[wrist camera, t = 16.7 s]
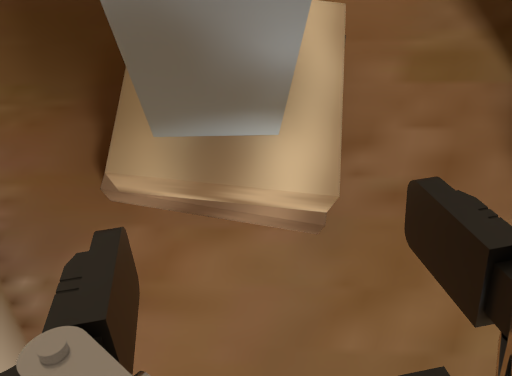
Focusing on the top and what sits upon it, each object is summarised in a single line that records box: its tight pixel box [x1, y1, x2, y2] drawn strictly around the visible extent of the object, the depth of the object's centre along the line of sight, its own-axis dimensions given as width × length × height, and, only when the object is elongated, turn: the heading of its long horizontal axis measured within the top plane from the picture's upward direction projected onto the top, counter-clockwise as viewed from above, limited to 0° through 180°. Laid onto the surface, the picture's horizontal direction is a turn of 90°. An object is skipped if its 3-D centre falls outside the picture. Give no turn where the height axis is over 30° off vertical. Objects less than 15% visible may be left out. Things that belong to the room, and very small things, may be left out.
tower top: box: [105, 0, 346, 212], centre depth 25 cm, size 11×11×3 cm
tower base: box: [100, 35, 346, 234], centre depth 28 cm, size 12×12×3 cm
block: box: [100, 0, 312, 137], centre depth 18 cm, size 6×6×10 cm
